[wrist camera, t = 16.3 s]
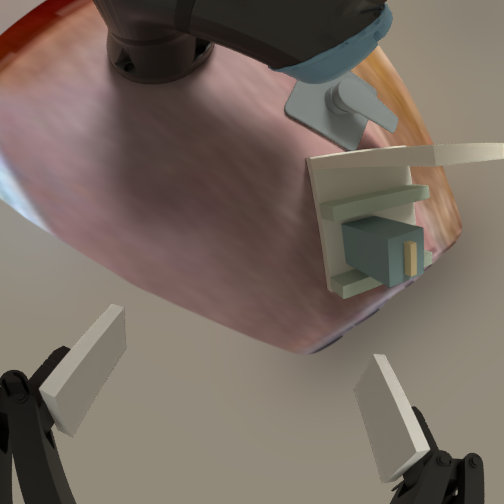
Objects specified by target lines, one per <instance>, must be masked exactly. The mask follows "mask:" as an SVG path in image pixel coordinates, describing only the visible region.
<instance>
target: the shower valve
mask: <svg viewBox="0 0 504 504" xmlns="http://www.w3.org/2000/svg"><path fill="white" fill-rule="evenodd" d="M284 111H285V113H286V114H287V115H288V116H290V117H292V118H294V119H296V120H298V121H299V122H301V123H303V124H305V125H307V126H308V127H310V128H312V129H314V130H315V131H317V132H319V133H320V134H322V135H324V136H325V137H327V138H329V139H330V140H332V141H334V142H335V143H337V144H338V145H340V146H342V147H343V148H345V149H346V150H348V151H355V150H356V149H357V147H358V145H359V142H360V140H361V137H362V135H363V132H364V129H365V127H366V124H367V122H368V119H369V120H371V121H373V122H374V123H376V124H378V125H379V126H381V127H383V128H384V129H386V130H387V131H389V132H391V133H394V131H395V129H396V127H397V124H398V117H397V116H396V115H395V114H394V113H392V112H391V111H390V110H389V109H388V108H387V107H386V106H385V105H384V104H383V103H382V102H381V101H380V100H379V99H378V98H377V91H376V90H375V89H374V88H373V87H372V86H371V85H369V84H368V83H366V82H365V81H364V80H362V79H361V78H359V77H358V76H357V75H355V74H354V73H352V72H351V71H349V72H347V73H346V74H344V75H342V76H341V77H339V78H337V79H335V80H332V81H330V82H327V83H323V84H307V83H304V82H301V81H299V80H297V82H296V84H295V86H294V88H293V90H292V92H291V94H290V96H289V98H288V100H287V102H286V104H285V107H284Z"/></svg>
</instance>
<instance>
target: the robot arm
mask: <svg viewBox="0 0 504 504" xmlns="http://www.w3.org/2000/svg"><path fill="white" fill-rule="evenodd" d="M386 1H387V0H93V2H94V3H95V5H96V7H97V9H98V11H99V12H100V14H101V16H102V18H103V20H104V22H105V23H106V25H107V27H108V36H107V53H108V56H109V59H110V61H111V62H112V64H113V66H114V67H115V68H116V70H117V71H118V72H119V73H120V74H121V75H123V76H124V77H126V78H127V79H129V80H132V81H135V82H138V83H144V84H160V83H166V82H170V81H174V80H177V79H179V78H182V77H184V76H186V75H188V74H189V73H191V72H193V71H194V70H195V69H197V68H198V67H199V66H200V65H201V64H202V63H203V62H204V61H205V60H206V59H207V58H208V56H209V55H210V53H211V51H212V49H213V46H214V43H215V44H218V45H221V46H223V47H226V48H229V49H231V50H234V51H236V52H239V53H241V54H243V55H246V56H248V57H250V58H253V59H255V60H257V61H259V62H262V63H264V64H266V65H268V68H269V69H271V70H273V71H276V72H282V73H284V74H287V75H289V76H291V77H293V78H295V79H297V80H299V81H301V82H304V83H307V84H323V83H327V82H330V81H332V80H335V79H337V78H339V77H341V76H342V75H344V74H346V73H347V72H349V71H350V70H351V69H353V68H354V67H355V66H357V65H358V64H359V63H360V62H362V61H363V60H364V59H365V58H366V57H367V56H368V55H369V54H370V53H371V52H372V51H373V50H374V49H375V48H376V47H377V46H378V43H377V41H379V40H380V39H381V38H383V37H385V35H386V34H387V32H388V31H389V29H390V27H391V24H392V20H393V17H392V13H391V11H390V9H389V8H388V5H387V4H386V3H385V2H386ZM125 350H126V336H125V308H124V307H121V306H118V305H115V304H111V305H110V306H109V307H108V308H107V309H106V310H105V311H104V312H103V313H102V315H101V316H100V317H99V318H98V319H97V320H96V321H95V322H94V323H93V325H92V326H91V327H90V328H89V329H88V330H87V332H85V334H84V335H83V336H82V337H81V338H80V339H79V340H78V342H77V343H76V344H75V345H74V346H73V347H72V349H69V348H67V347H65V346H62V347H60V348H58V349H56V350H55V351H53V353H52V354H51V355H50V356H49V357H48V359H46V360H45V362H44V363H43V365H41V366H40V367H39V369H38V370H37V371H36V372H35V373H34V374H33V376H32V377H31V378H30V379H29V380H28V379H27V376H26V375H25V374H24V373H23V372H20V371H18V370H10V371H7V372H6V373H4V374H3V375H2V376H1V378H0V386H1V387H0V504H13V501H12V453H13V458H14V463H15V468H16V472H17V477H18V481H19V485H20V488H21V492H22V495H23V499H24V502H25V504H76V502H75V500H74V497H73V495H72V492H71V490H70V487H69V484H68V482H67V479H66V476H65V473H64V470H63V467H62V464H61V461H60V458H59V454H58V451H57V447H56V444H55V440H54V436H53V432H52V430H51V427H52V426H53V424H54V423H55V425H56V427H57V429H58V430H59V431H61V432H63V433H65V434H67V435H69V436H71V437H73V436H74V434H75V433H76V431H77V429H78V427H79V425H80V424H81V422H82V420H83V419H84V417H85V415H86V413H87V411H88V410H89V408H90V407H91V405H92V403H93V401H94V400H95V398H96V396H97V395H98V393H99V391H100V390H101V388H102V386H103V385H104V383H105V382H106V380H107V378H108V377H109V375H110V373H111V372H112V370H113V369H114V367H115V365H116V364H117V362H118V361H119V359H120V357H121V356H122V354H123V353H124V351H125ZM354 392H355V395H356V398H357V402H358V405H359V408H360V411H361V414H362V417H363V420H364V424H365V427H366V430H367V434H368V436H369V440H370V443H371V447H372V450H373V454H374V457H375V461H376V464H377V468H378V472H379V475H380V479H381V483H388V482H393V481H396V480H397V479H398V478H399V477H401V476H402V475H403V478H404V480H403V481H402V482H400V483H399V484H398V485H397V486H395V487H394V488H393V489H392V490H391V491H394V490H396V489H397V488H398V489H397V491H396V493H395V495H394V497H393V499H392V501H391V502H390V504H484V470H483V462H482V459H481V457H480V456H479V455H477V454H475V453H469V454H467V455H466V456H465V457H464V458H463V459H453V458H452V457H451V456H450V454H449V453H447V452H446V451H442V450H439V449H438V447H437V445H436V442H435V440H434V438H433V436H432V434H431V432H430V430H429V428H428V425H427V423H426V422H425V419H424V417H423V415H422V413H421V412H420V411H419V410H418V409H417V408H416V407H415V406H414V407H411V406H410V404H409V402H408V400H407V398H406V396H405V394H404V391H403V389H402V388H401V385H400V384H399V382H398V380H397V378H396V376H395V374H394V372H393V370H392V368H391V366H390V364H389V362H388V361H387V358H386V356H385V355H379V354H373V355H372V357H371V359H370V361H369V363H368V365H367V367H366V368H365V370H364V372H363V374H362V376H361V377H360V379H359V381H358V383H357V384H356V386H355V388H354ZM456 490H458V494H457V495H455V491H456Z"/></svg>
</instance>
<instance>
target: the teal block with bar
mask: <svg viewBox="0 0 504 504" xmlns="http://www.w3.org/2000/svg"><path fill="white" fill-rule="evenodd" d="M341 227H342V235H343V242H344V251H345V260H346V263H347V264H349V265H350V266H352V267H354V268H356V269H358V270H359V271H361V272H363V273H365V274H366V275H368V276H370V277H372V278H373V279H375V280H377V281H379V282H380V283H382V284H384V285H386V286H387V287H389V288H391V287H393V286H395V285H398V284H400V283H403V282H405V281H407V280H410V279H412V278H414V277H416V276H419V275H421V274H423V273H424V233H423V228H422V227H419V226H415V225H411V224H407V223H403V222H399V221H395V220H391V219H387V218H382V217H378V216H370V217H366V218H362V219H358V220H355V221H351V222H347V223H343V224H341Z"/></svg>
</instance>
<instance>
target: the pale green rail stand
mask: <svg viewBox="0 0 504 504" xmlns="http://www.w3.org/2000/svg"><path fill="white" fill-rule="evenodd" d="M494 159H504V143H465V144H440V145H424V146H411V147H406V145H405V146H394V147H384V148H374V149H366V150H357V151H350V152H342V153H335V154H329V155H322V156H316V157H310V158H306V161H307V166H308V171H309V176H310V181H311V187H312V192H313V197H314V203H315V209H316V215H317V220H318V227H319V233H320V239H321V246H322V253H323V260H324V267H325V274H326V282H327V289H328V290H329V291H330V292H335V293H336V294H338V295H339V296H340V297H341V298H343V299H346V298H349V297H352V296H354V295H357V294H360V293H362V292H365V291H368V290H370V289H373V288H375V287H378V286H380V285H383V284H382V283H380V282H379V281H377V280H375V279H373V278H372V277H370V276H368V275H366V274H365V273H363V272H361V271H359V270H358V269H356V268H354V267H352V266H350V265H349V264H347V263H346V260H345V251H344V242H343V235H342V227H341V224H343V223H347V222H351V221H355V220H358V219H362V218H366V217H370V216H378V217H382V218H387V219H391V220H395V221H399V222H403V223H407V224H411V225H415V226H416V221H415V208H414V202H416V201H420V200H424V199H428V198H430V197H429V187H428V185H417V184H412V180H411V173H410V166H432V167H437V166H444V165H451V164H459V163H467V162H475V161H485V160H494ZM430 264H432V252H430V251H427V250H424V267H426V266H428V265H430Z"/></svg>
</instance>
